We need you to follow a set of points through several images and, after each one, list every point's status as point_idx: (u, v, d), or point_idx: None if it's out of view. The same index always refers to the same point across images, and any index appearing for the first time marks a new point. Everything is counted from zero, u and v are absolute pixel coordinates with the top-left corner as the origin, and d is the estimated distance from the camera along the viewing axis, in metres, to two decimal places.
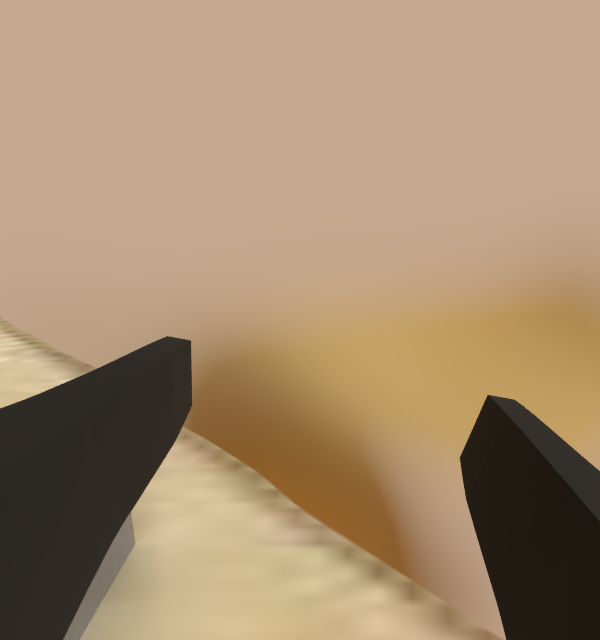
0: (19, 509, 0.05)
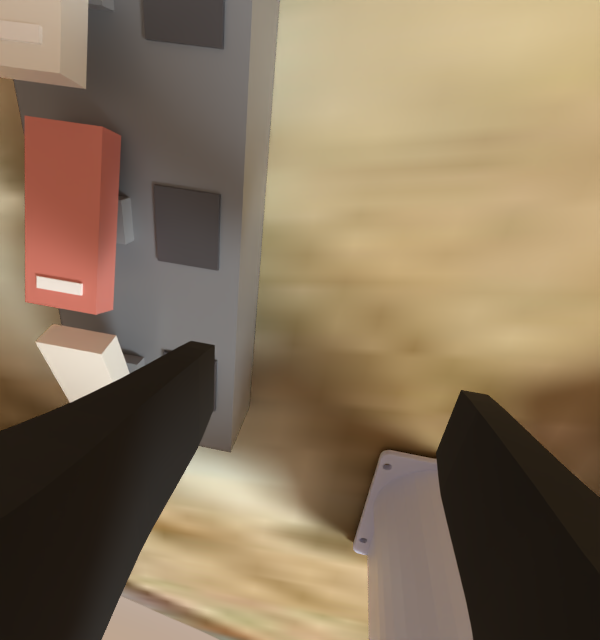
0: (64, 519, 0.05)
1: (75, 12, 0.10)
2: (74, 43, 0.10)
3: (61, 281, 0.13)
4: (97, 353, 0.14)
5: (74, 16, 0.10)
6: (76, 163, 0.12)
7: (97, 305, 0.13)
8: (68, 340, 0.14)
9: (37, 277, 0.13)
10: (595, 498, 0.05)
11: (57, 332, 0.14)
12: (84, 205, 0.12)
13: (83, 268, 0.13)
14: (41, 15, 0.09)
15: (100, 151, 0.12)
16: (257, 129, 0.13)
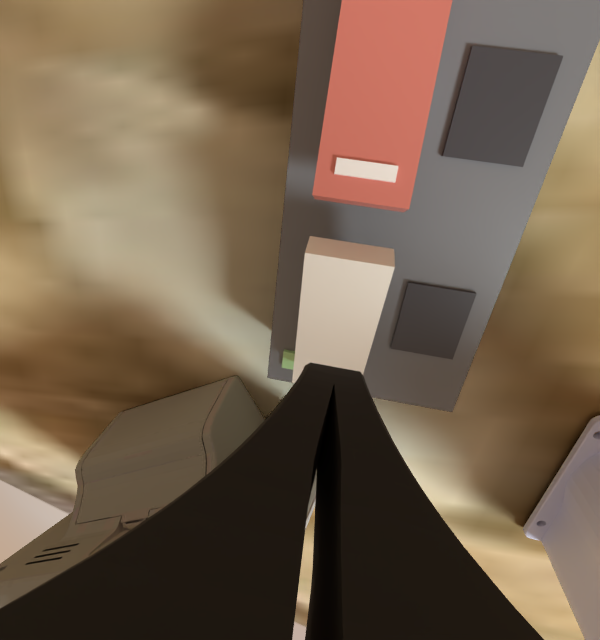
0: None
1: None
2: None
3: (369, 164, 0.10)
4: (389, 266, 0.11)
5: None
6: None
7: (411, 196, 0.10)
8: (343, 252, 0.11)
9: (338, 159, 0.10)
10: (397, 459, 0.06)
11: (323, 244, 0.11)
12: (418, 56, 0.09)
13: (402, 145, 0.10)
14: None
15: None
16: None
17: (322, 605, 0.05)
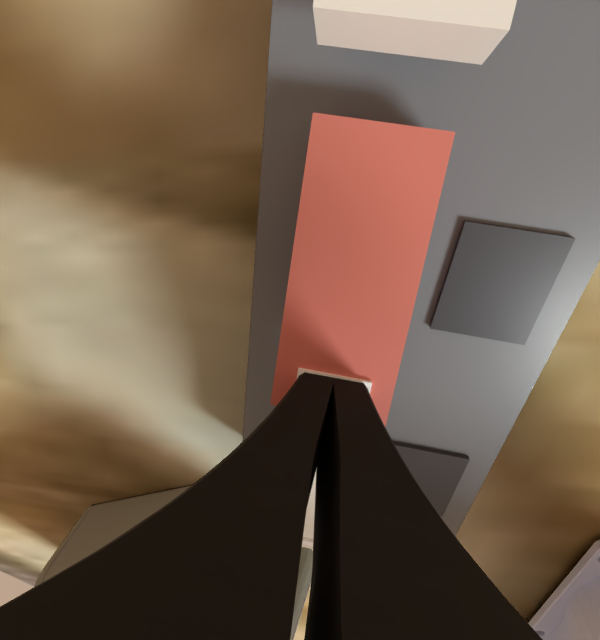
0: None
1: None
2: None
3: (337, 377, 0.08)
4: None
5: None
6: (394, 193, 0.07)
7: (388, 412, 0.08)
8: None
9: (299, 371, 0.08)
10: (396, 458, 0.06)
11: None
12: (397, 262, 0.07)
13: (377, 358, 0.08)
14: None
15: (440, 174, 0.07)
16: None
17: (321, 605, 0.05)
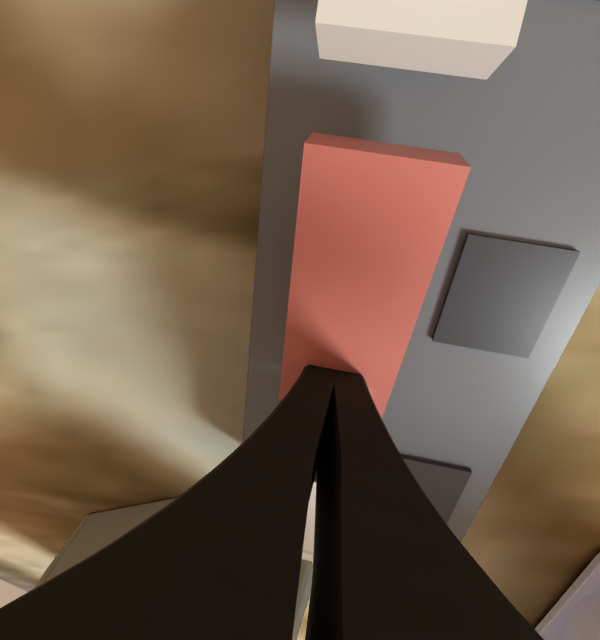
0: None
1: None
2: None
3: None
4: None
5: None
6: (396, 231, 0.06)
7: (384, 409, 0.09)
8: None
9: None
10: (397, 459, 0.06)
11: None
12: (397, 295, 0.07)
13: (374, 371, 0.08)
14: None
15: (449, 210, 0.06)
16: None
17: (322, 605, 0.05)
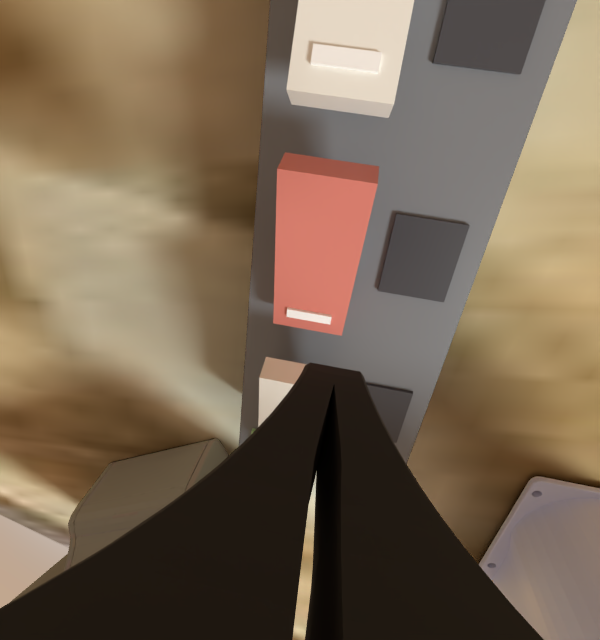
0: None
1: None
2: None
3: (311, 313, 0.13)
4: None
5: None
6: (337, 219, 0.10)
7: None
8: (292, 376, 0.13)
9: (288, 310, 0.13)
10: (397, 459, 0.06)
11: (276, 366, 0.13)
12: (342, 256, 0.11)
13: (334, 304, 0.13)
14: (383, 42, 0.09)
15: (368, 207, 0.10)
16: None
17: (322, 605, 0.05)
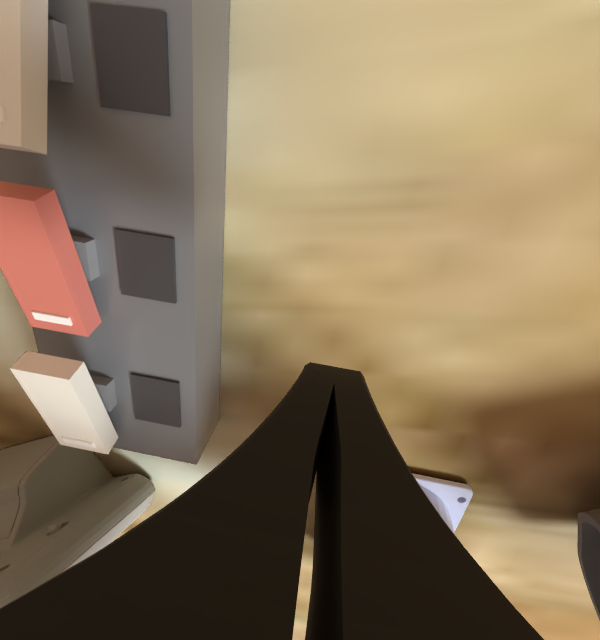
0: None
1: (35, 93, 0.11)
2: (34, 119, 0.11)
3: (52, 315, 0.15)
4: (65, 379, 0.15)
5: (34, 96, 0.11)
6: (24, 231, 0.13)
7: (86, 330, 0.16)
8: (40, 366, 0.15)
9: (32, 313, 0.15)
10: (396, 459, 0.06)
11: (30, 359, 0.16)
12: (46, 263, 0.14)
13: (65, 307, 0.15)
14: (4, 98, 0.11)
15: (41, 221, 0.12)
16: (208, 178, 0.15)
17: (322, 605, 0.05)
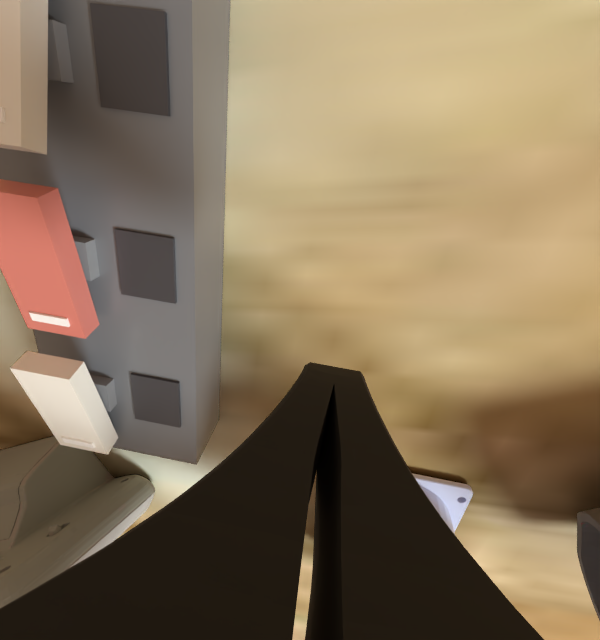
0: None
1: (35, 93, 0.11)
2: (34, 119, 0.11)
3: (50, 316, 0.15)
4: (65, 378, 0.15)
5: (34, 96, 0.11)
6: (25, 228, 0.13)
7: (84, 332, 0.16)
8: (40, 366, 0.15)
9: (30, 313, 0.15)
10: (396, 459, 0.06)
11: (30, 359, 0.16)
12: (46, 261, 0.14)
13: (63, 307, 0.15)
14: (4, 98, 0.11)
15: (43, 218, 0.12)
16: (208, 178, 0.15)
17: (322, 605, 0.05)
